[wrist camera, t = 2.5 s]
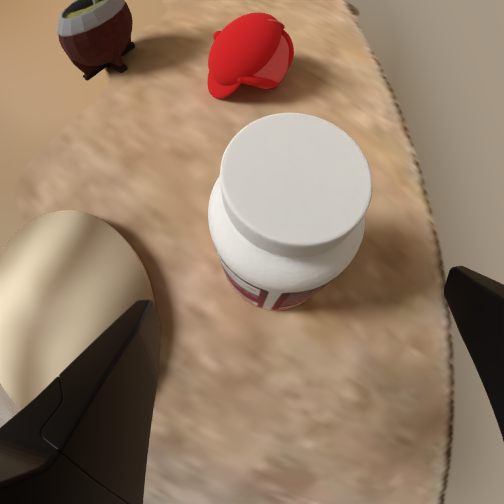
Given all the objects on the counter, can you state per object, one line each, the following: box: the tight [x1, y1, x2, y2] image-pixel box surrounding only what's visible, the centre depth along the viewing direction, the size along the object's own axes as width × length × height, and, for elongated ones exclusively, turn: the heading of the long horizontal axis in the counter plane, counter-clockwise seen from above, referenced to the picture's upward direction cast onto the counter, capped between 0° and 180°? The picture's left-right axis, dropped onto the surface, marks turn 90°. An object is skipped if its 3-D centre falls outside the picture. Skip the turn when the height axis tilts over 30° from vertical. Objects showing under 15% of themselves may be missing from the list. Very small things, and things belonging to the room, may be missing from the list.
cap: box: [208, 13, 294, 99], centre depth 21 cm, size 8×6×6 cm
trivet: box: [0, 210, 156, 409], centre depth 18 cm, size 15×15×1 cm
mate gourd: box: [58, 0, 135, 80], centre depth 18 cm, size 8×8×15 cm
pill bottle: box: [208, 113, 372, 311], centre depth 14 cm, size 6×6×11 cm
